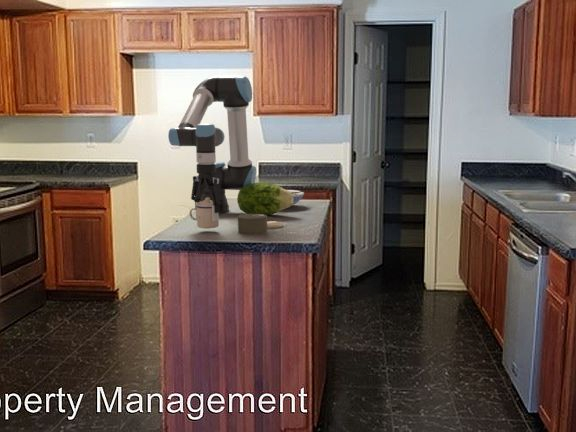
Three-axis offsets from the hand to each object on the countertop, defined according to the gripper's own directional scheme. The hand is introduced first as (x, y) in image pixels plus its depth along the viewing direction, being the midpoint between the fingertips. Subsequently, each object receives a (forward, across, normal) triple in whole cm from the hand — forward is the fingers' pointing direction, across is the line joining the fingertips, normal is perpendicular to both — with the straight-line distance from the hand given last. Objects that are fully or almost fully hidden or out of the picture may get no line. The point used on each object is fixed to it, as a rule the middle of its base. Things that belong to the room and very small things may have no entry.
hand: (207, 219), depth 250 cm
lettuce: (+6, -9, +45) cm, 47 cm away
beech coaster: (+5, +10, +27) cm, 29 cm away
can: (+6, +14, +12) cm, 19 cm away
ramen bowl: (+6, -21, +69) cm, 73 cm away
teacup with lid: (+3, -1, 0) cm, 3 cm away
